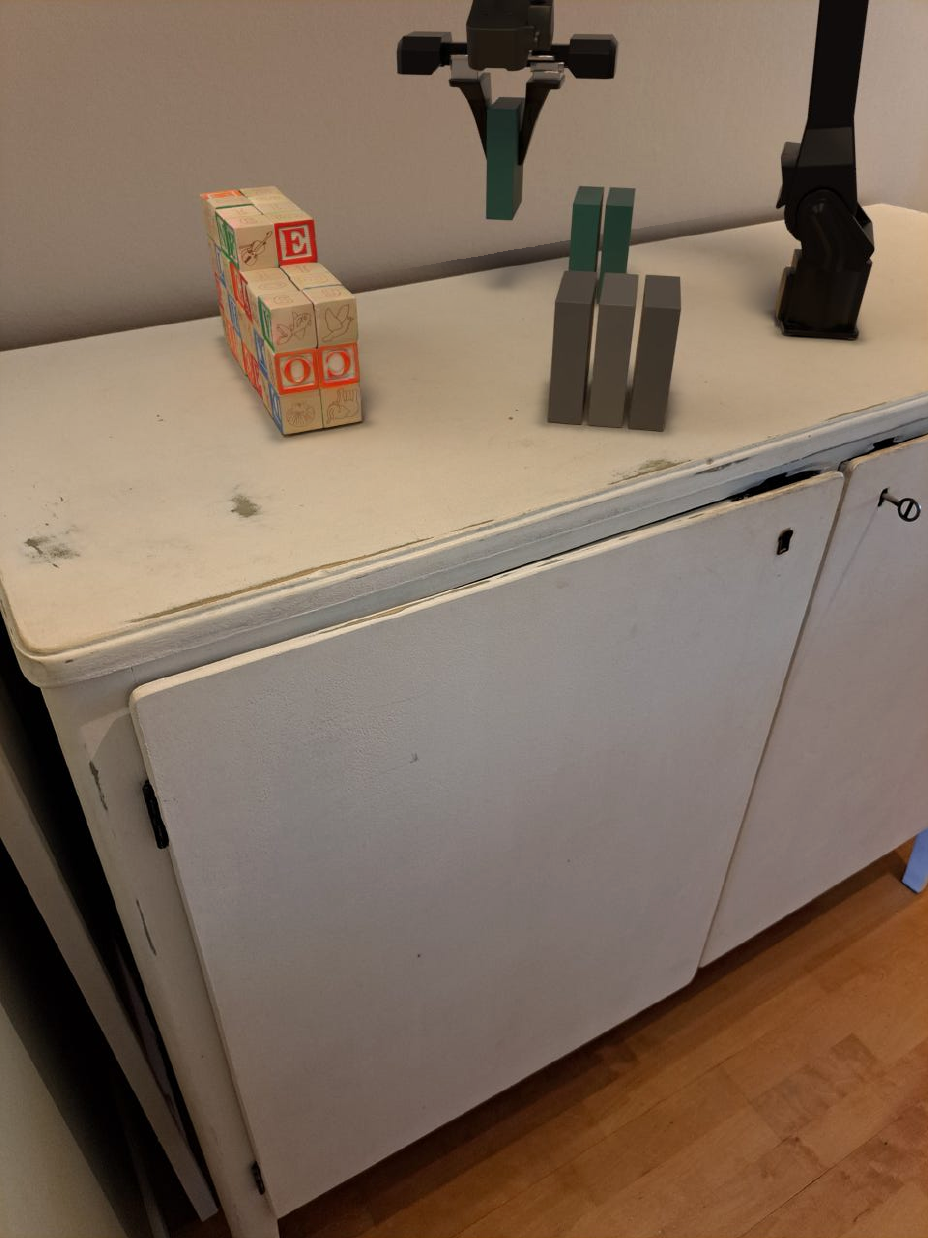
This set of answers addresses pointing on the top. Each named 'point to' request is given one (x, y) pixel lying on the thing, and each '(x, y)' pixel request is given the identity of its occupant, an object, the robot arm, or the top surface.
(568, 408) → the grey books
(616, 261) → the teal books
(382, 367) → the top surface
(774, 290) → the top surface
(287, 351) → the stack of blocks
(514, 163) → the teal book
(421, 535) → the top surface
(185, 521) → the top surface
